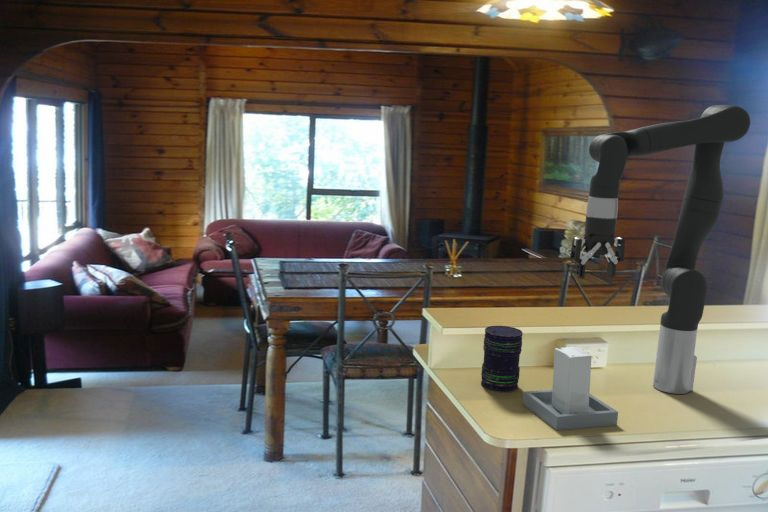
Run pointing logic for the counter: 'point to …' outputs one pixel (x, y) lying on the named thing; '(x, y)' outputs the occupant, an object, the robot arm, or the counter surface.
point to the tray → (593, 418)
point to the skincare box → (571, 380)
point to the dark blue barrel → (501, 358)
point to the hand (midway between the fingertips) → (595, 278)
